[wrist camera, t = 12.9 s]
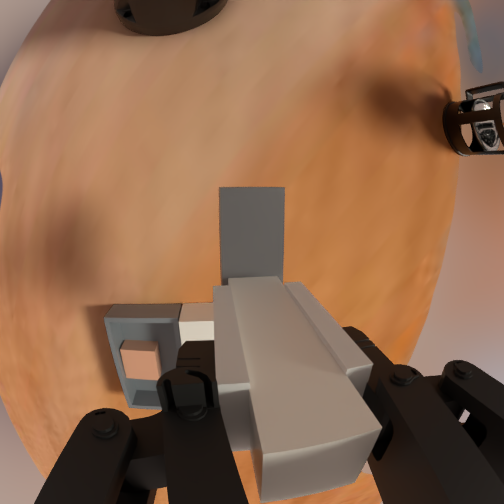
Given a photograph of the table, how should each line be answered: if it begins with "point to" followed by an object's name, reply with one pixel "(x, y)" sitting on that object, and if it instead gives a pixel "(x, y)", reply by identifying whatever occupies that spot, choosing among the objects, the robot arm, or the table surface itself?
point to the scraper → (287, 362)
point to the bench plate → (196, 322)
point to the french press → (476, 122)
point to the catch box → (146, 329)
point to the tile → (141, 359)
